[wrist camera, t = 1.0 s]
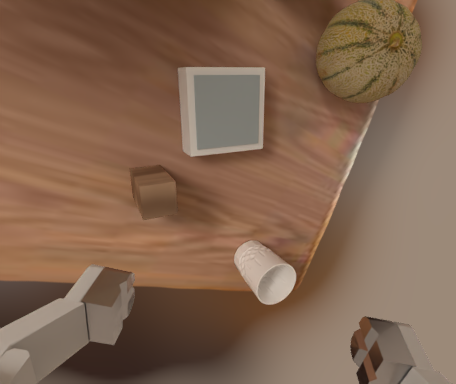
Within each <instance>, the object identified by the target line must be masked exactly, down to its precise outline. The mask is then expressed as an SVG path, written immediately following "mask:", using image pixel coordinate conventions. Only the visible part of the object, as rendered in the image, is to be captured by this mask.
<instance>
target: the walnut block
mask: <svg viewBox="0 0 456 384" xmlns="http://www.w3.org/2000/svg"><path fill="white" fill-rule="evenodd" d="M130 176H131V184H132V192H133V198H134V200H135V202H136V205H137V207H138V209H139V211H140V213H141V216H142V218H143V220H147V219H152V218H158V217H163V216H169V215H174V214H178V207H177V194H176V182H175V180H174V179H173V178H172V177H171V176H170V175H169V174H168V173H167V172H166V171H165V170H164V169H163V168H162V167H161V166H160V165H156V166H147V167H139V168H130Z"/></svg>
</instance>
